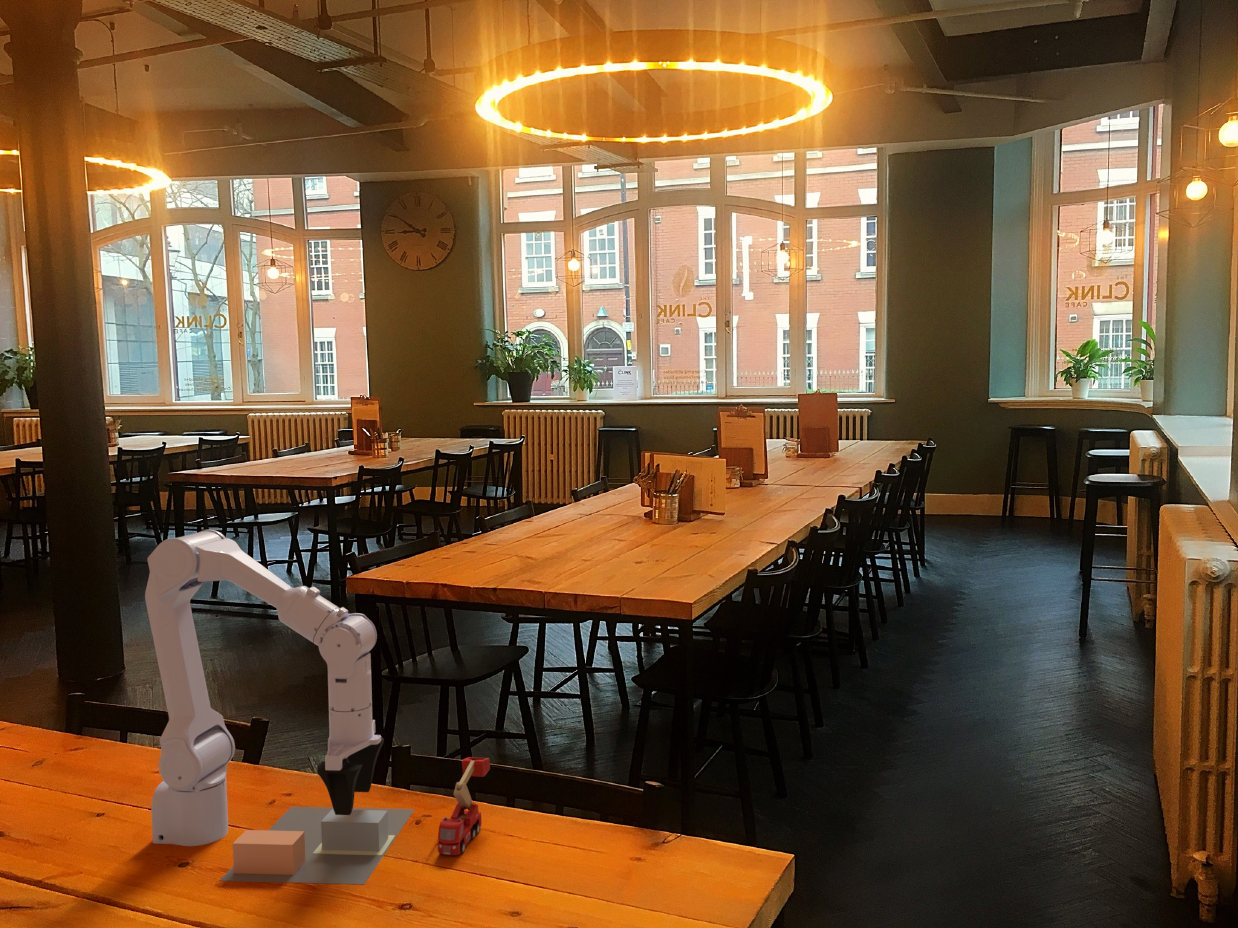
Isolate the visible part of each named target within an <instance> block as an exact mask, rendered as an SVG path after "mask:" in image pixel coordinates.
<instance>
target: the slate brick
mask: <svg viewBox="0 0 1238 928" xmlns="http://www.w3.org/2000/svg"><path fill="white" fill-rule="evenodd" d="M321 837H322V850H341V851H380V850H381V848H382V847H383V845H384V844H385V843H386V841H387V840H388V811H384V810H352V813H351V814H350V815H335V812H334V809H332V810H331V811H330V812H329V813H328V814H327V815H326V816H325V817H324V819H323V820H322V821H321Z"/></svg>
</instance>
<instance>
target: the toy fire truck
mask: <svg viewBox="0 0 1238 928" xmlns="http://www.w3.org/2000/svg"><path fill="white" fill-rule="evenodd" d="M490 764H491V762H490V758H489V757H472V756H470V757H469V756H468V757H465V758H463V759H462V760H461V769H462V777H461V779H460V780H459V781H456V783H455V788H454V791H453V796H454V798H455V799H456V801H457V803H456V805H455V807H454V810H453V812H452V814H451V815H450V818H448V817H447V816H445V817H444V818H442V819H441V821H440V823H439V824H438V825H439V826H438V833H437V841H438V842H437V850H438V851H437V852H438V854H442V855H445V856H459V855H460V854H464V853H465V851H466V850H465V849H466V846H467V845H468V843H469V842H470V841H471V840H474V839H475V838H476V835H477V834H479V833H480V828H481V826H482V812H481V811H479V804H477V803H474V802H473V800H472V797H471V794H470V791H469V788H468V786H467V784H468V782H469V780H470V778H471V777H482V778H484V777H486V776H487V774H488V772H489V771H490V769H491V765H490Z"/></svg>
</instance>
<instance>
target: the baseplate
mask: <svg viewBox="0 0 1238 928" xmlns="http://www.w3.org/2000/svg"><path fill="white" fill-rule="evenodd" d="M332 809H333V806H332V807H328V806H327V807H324V806H321V807H320V806H315V807H314V806H290V807H289V808H288V809H287V810H286V811H285V812H284V813H283V814H282V816H281V817H279V818H278V819H277V821H276V822H274V824H273V825H272V826H270V828H269V829H267V830H268V831H305V859H306V860H305V862H304V863H303V864H302V865H301V867H300V868H299V869H298V870H297V871H296V873H295V874H294V875H282V874H243V873H234V866H233V865H232V867H231V868H229V870H228V871H227V872H226V873H225V874H224V875H223V876H221V878H220V879H219V882H248V883H249V882H250V883H251V882H252V883H255V882H256V883H287V884H324V885H357V886H358V885H360V886H363V885H364V886H365V884H366V883H367V881H368V879H369V878H370V876H371V875H372V874H373V872H374V871H375V869H376V868H377V866H378V865H379V863H380V862H381V860H382V858H383V857H385V854H386V852H388V849H390V847H391V845H392V844H393V842H394V841H395V840H396V838H397V837H398V835H399V834H400V832H401V831H402V829H403V828H404V826H405V825H406V823H407V822H408V820H409V819H410V817H411V816H412V814H413V812H415V808H414V809H413V808H376V807H375V808H372V807H353V809H352V810H384V811H388V840H387V841H386V843H385V844H384V845H383V847H382V848H381V850H380V851H341V850H322V837H321V821H322V820H323V819H324V817H325V816H326V815H327V814H328V813H329V812H330V811H331V810H332Z"/></svg>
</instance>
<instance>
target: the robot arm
mask: <svg viewBox="0 0 1238 928" xmlns="http://www.w3.org/2000/svg"><path fill="white" fill-rule="evenodd" d="M147 564H148V569H149V570H148V571H149V575H148V580H147V582H146V583H147V585H146V588H145V593H144V596H145V597H144V598H145V599H144V600H145V605H146V611H147V615H148V620H149V624H150V625H149V626H150V629H151V634H152V639H153V645H154V650H155V653H156V654H155V655H156V661H157V664H158V669H159V675H160V679H161V680H160V681H161V685H162V691H163V693H164V695H163V696H164V700H165V704H166V708H167V713H168V722H167V724H166V726H165V728H164V730H163V732H162V734H161V736H160V738H159V745H160V758H159V760H158V770H159V774H160V776H161V779H162V780H163V781H161V782H160V783H159V784H158V785H157V786H156V788H155V789H154V792H153V796H152V800H151V807H150V808H151V810H150V812H151V813H150V814H151V827H152V828H151V831H152V832H151V833H152V835H151V836H152V844H159V845H160V844H161V845H162V844H164V845H169V844H170V845H178V846H181V847H182V846H183V847H195V846H203V845H204V846H205V845H208V844H211V843H215V842H217V841H219V840H221V839H223V838H224V837H225V836H226V835H227V834H228V833H229V816H228V815H229V814H228V812H229V811H228V794H227V793H228V792H227V791H228V790H227V773H228V764H229V763H230V762H231V761H232V759H233V757H234V755H235V752H236V745H235V744H236V743H235V739H234V738H233V736H232V734H231V733H230V731H229V730H228V729H227V726H226V725H225V719H224V716H223V715H222V714H220V712H218V711H216V710H214V708H212V707H211V702H210V697H209V693H208V692H209V690H208V687H207V681H206V677H205V671H204V667H203V662H202V658H201V653H200V646H199V641H198V638H197V637H198V636H197V631H196V627H195V622H194V617H193V613H192V607H191V599H193V597H194V595H196V593H197V592H198V591H199V589H200V588H201V587H202V586H203V584H204V583H205V582H218V581H228V582H230V583H231V584H233V585H235V586H237V587H239V588H240V589H242V590H244V591H246V592H247V593H249V594H251V595H252V596H254V597H257V598H258V599H260V600H262V601H263V602H265V603H266V604H268V605H271V606H272V607H274V608H276V611H277V615H278V620H279V622H280V623H282V624H284V625H285V626H287V627H288V628H290V629H292V630H293V631H294V632H296V633H297V634H299V635H301V636H302V637H303V638H305V639H306V640H308V641H309V642H312V643H313V644H314V645H316V646H318V651H319V653H320V656H321V658H322V659H323V660H324V662H325V663H326V665H327V687H328V688H327V689H328V690H327V691H328V692H327V693H328V724H329V725H328V727H329V730H328V731H329V737H328V738H327V753H326V754H325V755H324V761H322V760H321V762H320V763H319V764H318V765H317V767H316V771H317V774H318V776H319V778H321V781H322V782H323V784H324V785H325V788H326V789H327V792H328V796H329V798H330V802H331V805H332V807H333V809H334V812H335V815H350V814H351V813H352V809H353V808H354V802H355V793H369V792H370V790H371V788H372V783H373V778H374V773H375V767H376V763H377V760H378V756H379V754H380V752H381V749H382V747H383V745H384V741H385V740H384V737H382V736H381V734H375V733H376V719H373V698H372V697H373V694H372V693H373V692H372V690H373V688H372V687H373V686H372V666H371V665H372V659H371V657H372V656H371V655H372V654H371V652H370V651H371V650H372V649H373V648H374V647H375V645H376V643H377V639H378V634H377V633H378V632H377V629H376V626H375V624H374V623H373V621H372V620H370V619H369V617H367V616H366V615H365V614H364V613H358V612H355V613H354V612H353V613H349V610H348V609H346V608H345V607H344V606H342V607H339V606H338V605H336V604H334V603H332V602H331V601H330V600H328V599H327V598H325V597H323V596H322V595H321V594H320V593H321V590H320V589H318V588H317V587H315V586H311V587H308V586H306V585H301V586H297V587H292V586H291V585H289V584H288V583H286V582H285V581H284V580H282V578H280V577H278V576H277V575H275V573H273V572H272V571H270V570H269V569H267V568H266V567H265V566H264V565H262V564H261V563H259V562H258V561H257V560H256V559H254V558H253V557H251V556H250V555H249V554H247V553H246V552H244V551H243V550H242V549H241V547H240V546H239V545H238V543H237V541H235V540H233V539H231V538H228V537H226V536H225V535H224V534H223V533H221V532H220V531H217V530H215V529H204V530H201V531H199V532H196V533H192V534H191V533H190V534H187V535H183V536H178V537H171V538H166V539H165V540H162V542H160V543H159V544H158V545H157V546H156V548H154V550H153V551H152V552H151V554H149V556H148V557H147ZM162 837H163V838H162Z"/></svg>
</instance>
